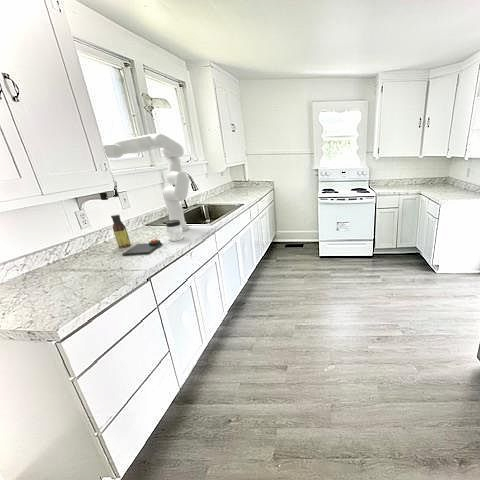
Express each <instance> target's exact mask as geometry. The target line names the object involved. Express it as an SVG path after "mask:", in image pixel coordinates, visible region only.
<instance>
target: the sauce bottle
mask: <svg viewBox="0 0 480 480" xmlns="http://www.w3.org/2000/svg"><path fill="white" fill-rule="evenodd" d="M110 218H111V220H112V223H113V225H112V231H113V235H114V237H115V240H116V243H117V246H118V248H120V249H124V248H128V247H130V246H131V240H130V237H129V234H128V230H127V228H126V226H125V225H124V222H122V220H121V216H120V214H119V213H118V214H112V215H110Z"/></svg>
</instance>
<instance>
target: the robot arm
mask: <svg viewBox="0 0 480 480" xmlns="http://www.w3.org/2000/svg"><path fill="white" fill-rule="evenodd" d="M104 149H105V153H106V155H107V157H108V159H118V158H122V157H123V156H124V155H127V154H138V153H139V154H140V153H143V152H147V151H151V150H154V149H160V150H161V153H162V154H163V156H164V157H165V158H166V160H167V164H168V166H167V173H166V182H167V183H168V184H169V186H165V187H164V188H163V189H162V197H163V199H164V202H165V205H166V208H167V214H168V218H169V221H170V220H180V224H181V227H182V232H185V231H188V230H189V229H190V227H189V226H188V225H187V221H186V219H185V218H186V217H185V214H184V209H183V204H182V202H183V201H185V200H186V199H187V197H188V193H189V188H190V187H189V186H190V176H189V175H188V173H186V172H185V171H183V163H182V160H181V158H180V157H182V156H183V155H184V154H185V148H184V147H183V146H182V145H181V144H180V143H178V142H177V141H176V140H174V139H172V138H170V137H168V136H167V135H165V134H163V133H151V134H146V135H142V136H136V137H131V138H127V139H123V140H119V141H114V142H113V141H112V142H108V143H104ZM111 174H112V178H113V182H114V190H115V195H114V196H113V197H112V198H119V192H118V182H117V181H116V180H115V177H114V174H113V172H112V171H111ZM170 185H172V186H170ZM99 196H100V199H101V201H108V200H109V197H108V194H107V192H105V193H99ZM106 197H108V198H106Z"/></svg>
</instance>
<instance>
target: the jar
mask: <svg viewBox="0 0 480 480" xmlns="http://www.w3.org/2000/svg"><path fill="white" fill-rule="evenodd" d="M165 229H166V233H167V237H168V241H170V242H171V241H172V242H175V241H180V240H183V239H184V231H182V227H181V224H180V220H170V219H169V220H167V221H165Z"/></svg>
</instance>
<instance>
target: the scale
mask: <svg viewBox="0 0 480 480" xmlns="http://www.w3.org/2000/svg"><path fill="white" fill-rule="evenodd" d="M162 245H163V243H162V242H161V240H160V239H157V242H155V243H152V241H151V240H150V241H149V242H146V243H136V244H135V245H133V246H132V247H130V248H128V249H127V250H126V251H124V252H122V254H121V256H122V257H128V256H129V257H130V256H143V255H150V254H151V253H153V252H154V251H155V250H157V249H159V247H161V246H162Z"/></svg>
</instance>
